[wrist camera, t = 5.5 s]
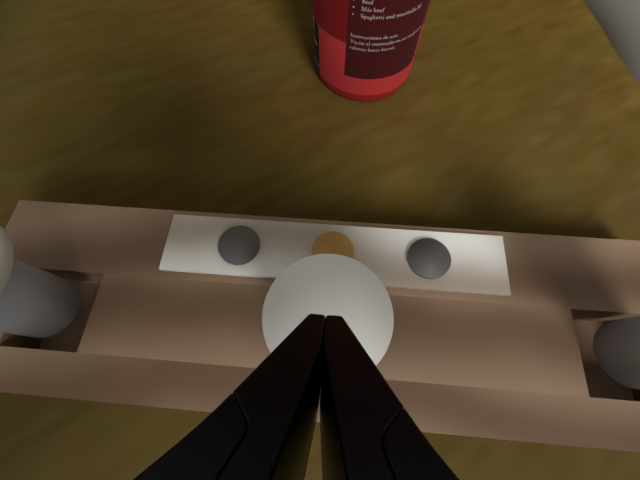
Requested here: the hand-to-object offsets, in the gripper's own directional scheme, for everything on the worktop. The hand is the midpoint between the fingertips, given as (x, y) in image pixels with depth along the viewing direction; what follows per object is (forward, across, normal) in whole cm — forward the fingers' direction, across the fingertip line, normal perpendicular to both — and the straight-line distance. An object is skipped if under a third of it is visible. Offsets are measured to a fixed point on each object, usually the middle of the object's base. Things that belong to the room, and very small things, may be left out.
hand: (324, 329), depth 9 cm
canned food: (+24, -1, -8) cm, 25 cm away
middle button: (+8, 0, +7) cm, 11 cm away
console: (+9, 0, +6) cm, 11 cm away
